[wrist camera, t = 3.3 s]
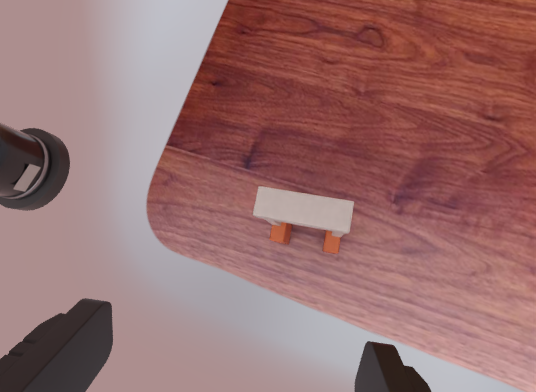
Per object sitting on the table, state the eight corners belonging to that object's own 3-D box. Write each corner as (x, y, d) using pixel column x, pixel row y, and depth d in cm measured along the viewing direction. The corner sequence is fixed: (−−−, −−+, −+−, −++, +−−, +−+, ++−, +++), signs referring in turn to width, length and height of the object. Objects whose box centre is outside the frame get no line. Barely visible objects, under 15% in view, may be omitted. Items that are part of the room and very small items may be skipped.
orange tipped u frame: (276, 242, 32) (248, 233, 19) (284, 202, 33) (262, 168, 20) (335, 253, 31) (346, 252, 18) (341, 212, 31) (357, 182, 19)
